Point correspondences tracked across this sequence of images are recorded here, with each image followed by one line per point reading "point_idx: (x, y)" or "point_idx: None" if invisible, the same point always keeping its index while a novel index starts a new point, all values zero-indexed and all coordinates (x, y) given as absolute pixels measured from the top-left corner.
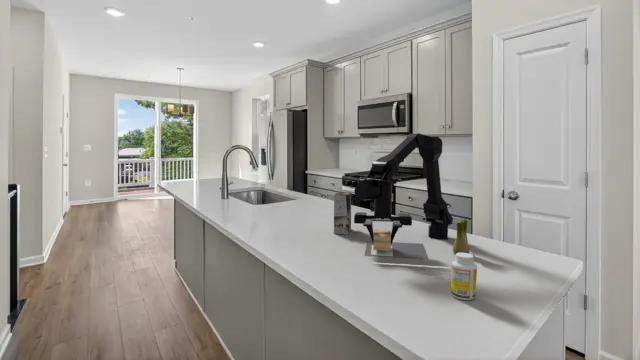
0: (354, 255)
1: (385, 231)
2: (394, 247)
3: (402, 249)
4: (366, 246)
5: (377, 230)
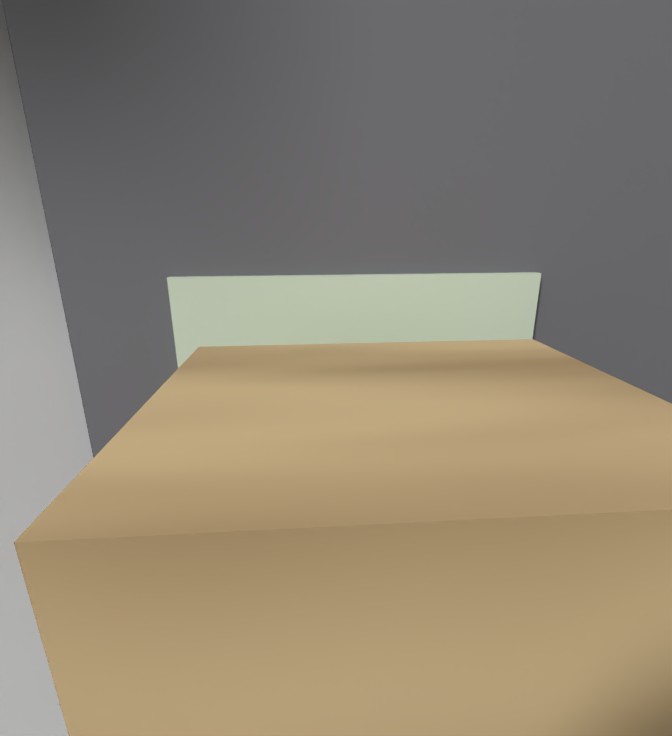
0: (19, 675)
1: (586, 705)
2: (567, 311)
3: (668, 398)
4: (78, 354)
5: (212, 637)
